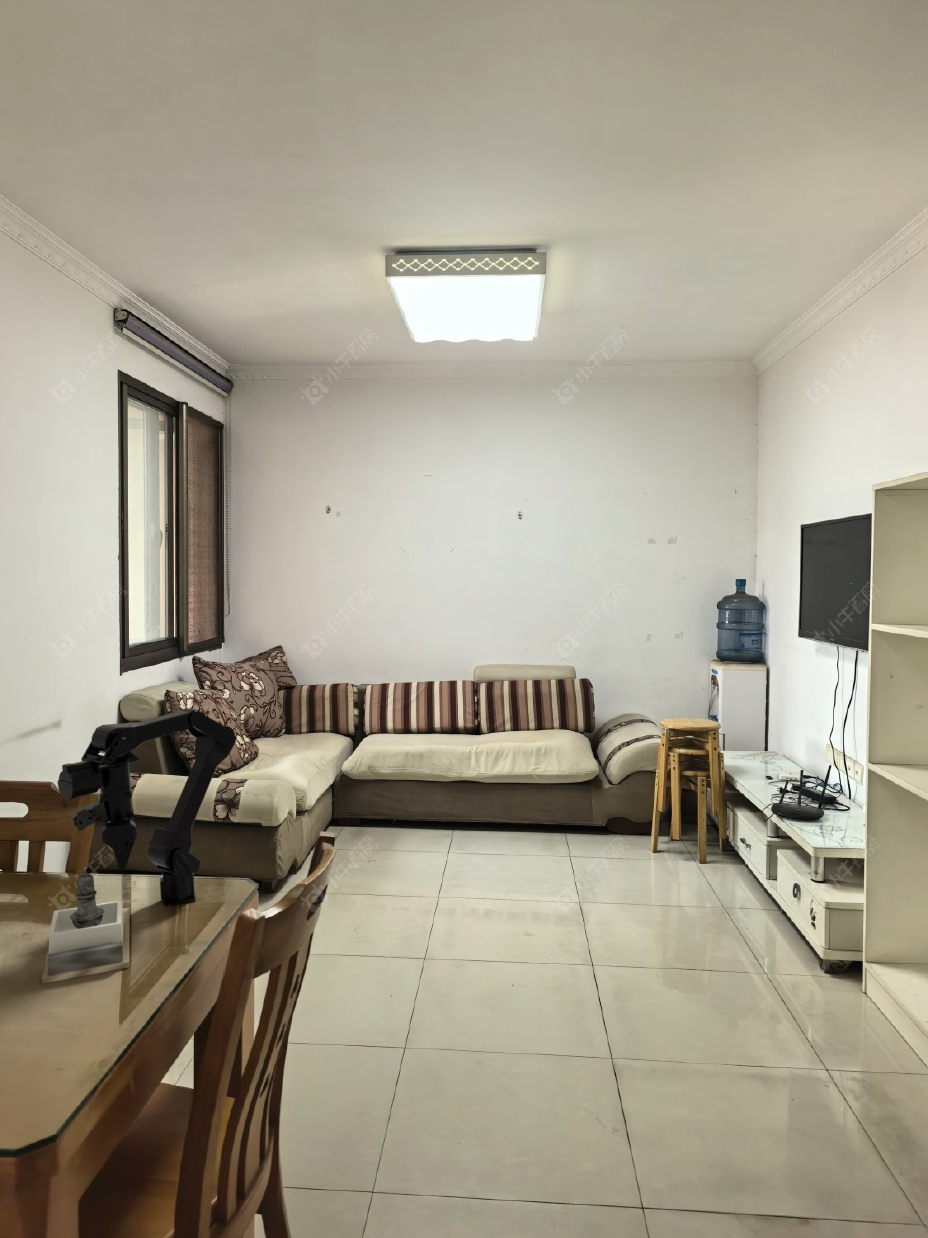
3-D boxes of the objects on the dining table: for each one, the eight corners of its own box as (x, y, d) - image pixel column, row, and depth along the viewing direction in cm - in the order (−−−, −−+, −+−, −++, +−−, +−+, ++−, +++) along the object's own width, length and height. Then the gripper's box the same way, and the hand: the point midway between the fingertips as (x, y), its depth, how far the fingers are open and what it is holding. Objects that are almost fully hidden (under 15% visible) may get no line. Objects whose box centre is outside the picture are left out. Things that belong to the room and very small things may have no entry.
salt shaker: (96, 939, 153) (92, 875, 153) (64, 939, 154) (60, 875, 153) (111, 926, 159) (107, 863, 159) (81, 926, 160) (77, 864, 159)
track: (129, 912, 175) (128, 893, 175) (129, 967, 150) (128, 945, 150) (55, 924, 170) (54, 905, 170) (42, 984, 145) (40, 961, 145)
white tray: (123, 927, 164) (122, 900, 164) (123, 952, 153) (121, 923, 153) (55, 938, 160) (54, 911, 160) (50, 965, 149) (48, 935, 148)
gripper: (73, 782, 175) (79, 855, 176) (70, 805, 158) (77, 886, 159) (130, 774, 179) (136, 845, 180) (133, 796, 162) (139, 874, 163)
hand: (121, 862), depth 171 cm, fingers open, 9 cm apart
